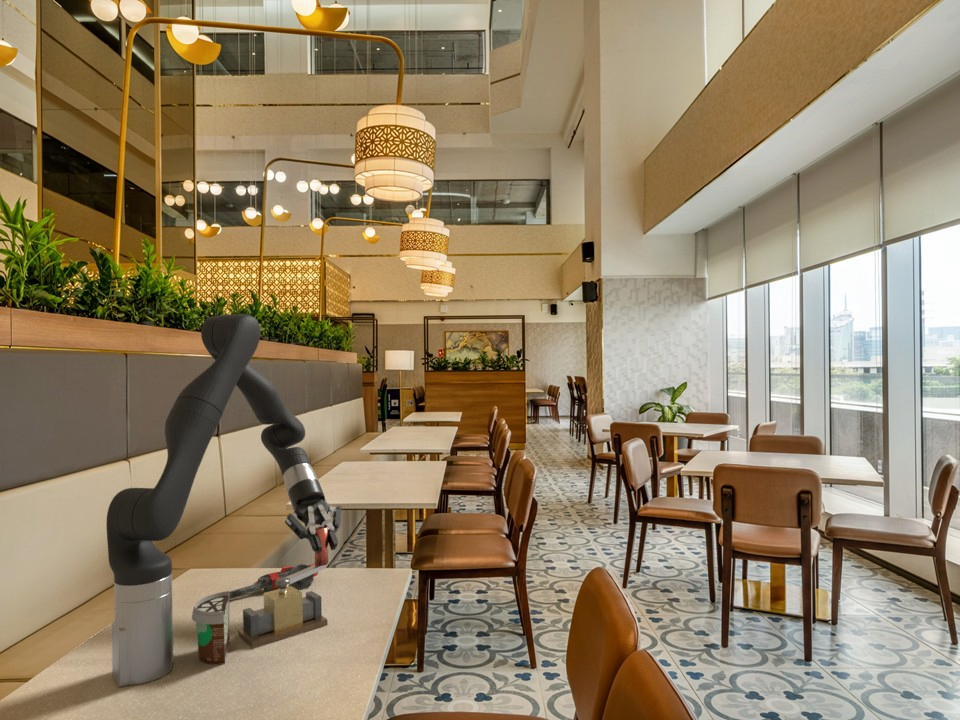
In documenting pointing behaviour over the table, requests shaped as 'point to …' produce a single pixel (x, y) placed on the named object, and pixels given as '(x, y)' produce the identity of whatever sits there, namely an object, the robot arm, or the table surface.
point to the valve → (270, 579)
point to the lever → (320, 563)
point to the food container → (212, 627)
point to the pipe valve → (282, 617)
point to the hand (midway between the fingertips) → (327, 549)
